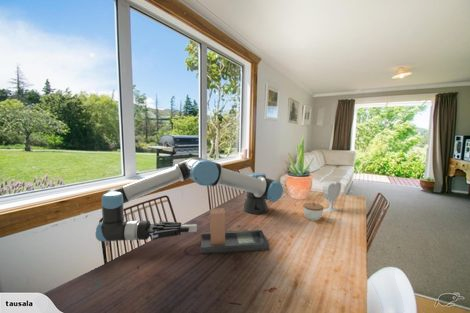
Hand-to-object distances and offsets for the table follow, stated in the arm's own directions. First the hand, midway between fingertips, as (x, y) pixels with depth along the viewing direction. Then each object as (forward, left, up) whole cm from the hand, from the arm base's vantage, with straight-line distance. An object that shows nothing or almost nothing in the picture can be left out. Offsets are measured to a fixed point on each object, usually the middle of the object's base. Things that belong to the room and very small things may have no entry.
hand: (196, 228), depth 91 cm
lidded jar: (+23, +64, -8) cm, 69 cm away
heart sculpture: (+25, +87, -8) cm, 91 cm away
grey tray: (+10, +12, -8) cm, 18 cm away
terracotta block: (+6, +7, -7) cm, 11 cm away
